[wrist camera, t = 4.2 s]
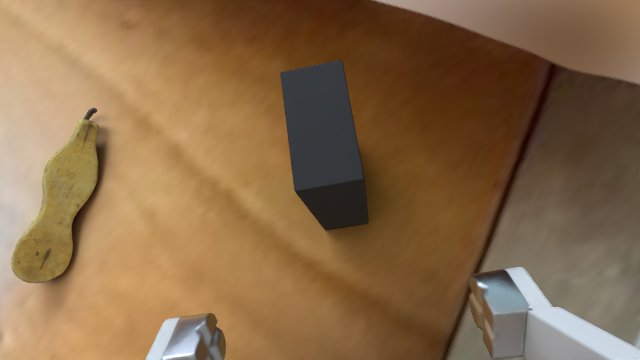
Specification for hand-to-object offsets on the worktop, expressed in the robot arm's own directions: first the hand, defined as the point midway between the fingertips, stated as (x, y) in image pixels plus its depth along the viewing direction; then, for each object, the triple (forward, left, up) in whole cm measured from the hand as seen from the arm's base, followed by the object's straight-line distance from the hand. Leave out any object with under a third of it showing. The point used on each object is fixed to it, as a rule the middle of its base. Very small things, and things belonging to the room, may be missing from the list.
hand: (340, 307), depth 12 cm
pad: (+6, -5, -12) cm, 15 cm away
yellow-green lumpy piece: (+22, +8, -13) cm, 26 cm away
